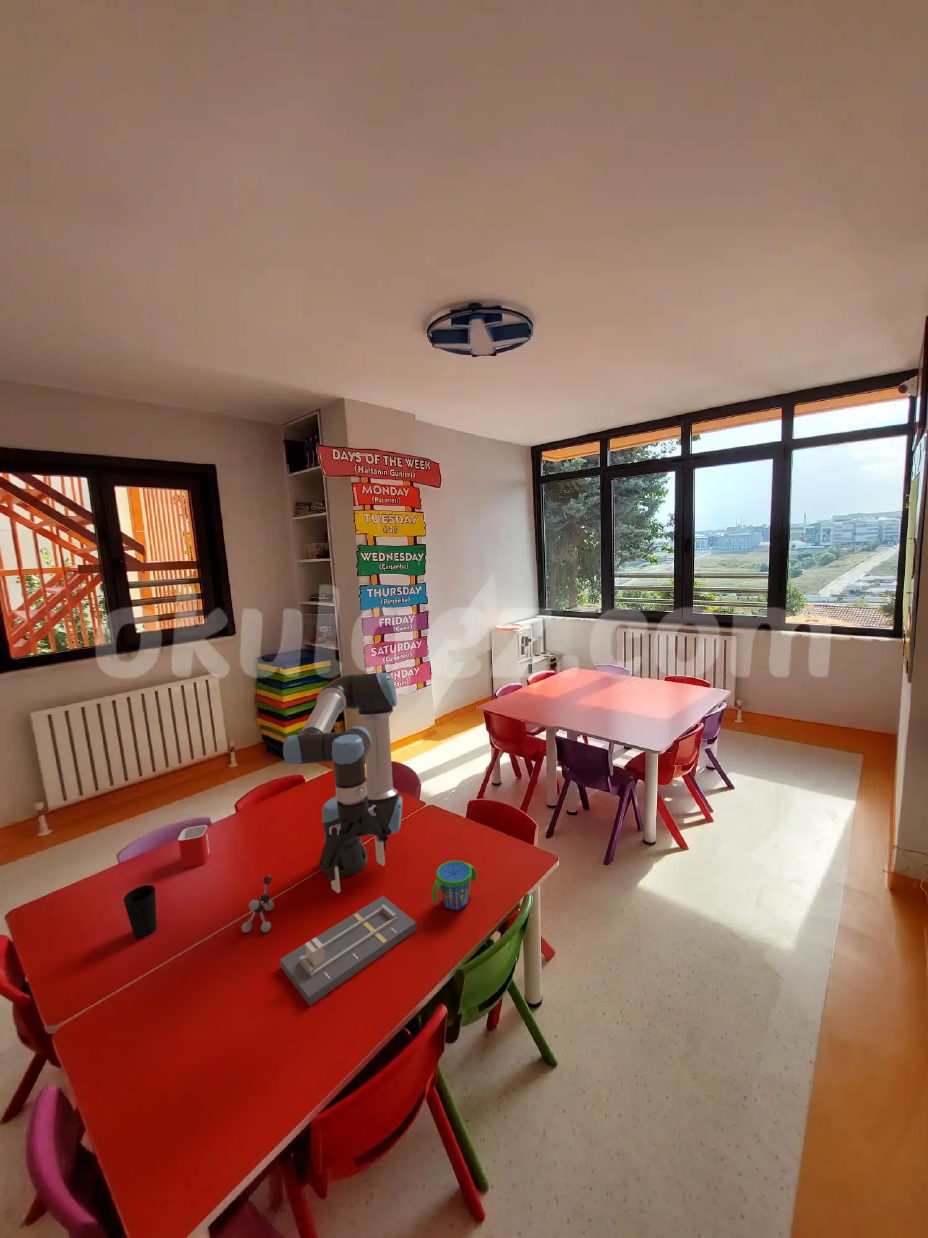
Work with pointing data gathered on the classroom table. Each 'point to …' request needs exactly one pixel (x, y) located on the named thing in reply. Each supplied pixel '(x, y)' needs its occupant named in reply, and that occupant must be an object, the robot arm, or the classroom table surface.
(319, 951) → the fader tab
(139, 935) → the cup
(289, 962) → the panel
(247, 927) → the molecular model
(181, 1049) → the classroom table surface
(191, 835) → the mug
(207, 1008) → the classroom table surface
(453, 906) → the snack cup
